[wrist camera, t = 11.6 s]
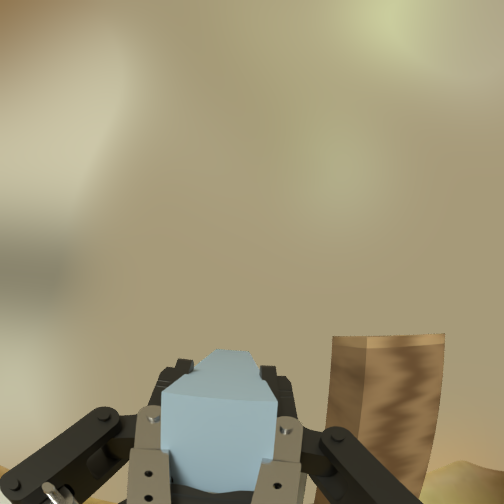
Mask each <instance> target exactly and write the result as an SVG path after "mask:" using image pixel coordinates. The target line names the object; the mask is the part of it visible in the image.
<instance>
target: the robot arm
mask: <svg viewBox="0 0 504 504" xmlns="http://www.w3.org/2000/svg"><path fill="white" fill-rule="evenodd" d="M193 370H194V362H193V360H187V359H178V360H177V363H176V366H175V368H172V367H166V369H164V370H163V371H162V372H161V373H160V375H159V378H158V381H157V383H156V386H155V388H154V390H153V393H152V396H151V398H150V401H149V403H148V406H146V407H143V408H142V409H140V411H139V412H138V414H136V415H125V416H119V414H118V412H117V411H116V410H115V409H113V408H110V407H99V408H96V409H94V410H93V411H91V412H90V413H89V414H87V415H86V416H84V417H83V418H82V419H80V420H79V421H78V422H76V423H75V424H74V425H72V426H71V427H70V428H68V429H67V430H66V431H64V432H63V433H62V434H60V435H59V436H57V437H56V438H55V439H53V440H52V441H51V442H49V443H48V444H46V445H45V446H43V447H42V448H41V449H39V450H38V451H37V452H35V453H34V454H32V455H31V456H29V457H28V458H27V459H25V460H24V461H22V462H21V463H20V464H18V465H17V466H15V467H14V468H12V469H11V470H9V471H8V472H7V473H5V474H4V475H3V476H2V477H1V479H0V490H1V492H2V493H3V495H4V496H5V497H6V498H7V499H8V500H9V501H10V502H11V503H12V504H82V503H83V502H85V501H86V500H87V499H88V498H89V497H90V496H91V495H92V494H93V493H95V492H96V491H97V490H98V489H99V488H100V487H101V486H102V485H103V484H104V483H105V482H107V481H108V480H109V479H110V478H111V477H112V476H113V475H114V474H115V473H116V472H117V471H118V470H119V469H120V468H121V467H122V466H123V465H125V464H126V463H127V462H128V461H129V472H128V488H127V499H126V500H124V501H122V502H120V503H118V504H297V497H298V489H299V481H300V472H302V473H306V474H309V476H310V477H311V479H312V480H313V482H314V483H315V484H316V486H317V487H318V488H319V490H320V491H321V492H322V493H323V495H324V496H325V497H326V498H327V500H328V501H329V502H330V504H423V503H422V502H421V501H420V500H419V499H418V498H417V497H416V496H414V495H413V494H412V493H411V492H410V491H409V490H408V489H407V488H406V487H405V486H404V485H403V484H402V483H401V482H400V481H399V480H398V479H397V478H396V477H395V476H394V475H393V474H392V473H391V472H389V471H388V470H387V469H386V468H385V467H384V466H383V465H382V464H381V463H380V462H379V461H378V460H377V459H376V458H375V457H374V456H373V455H372V454H371V453H370V452H369V451H368V450H367V449H366V447H365V446H364V445H363V444H362V443H361V442H360V441H359V440H358V439H357V438H356V437H355V436H354V435H353V434H352V433H351V432H350V431H349V430H347V429H345V428H343V427H339V426H333V427H329V428H327V429H325V430H324V431H323V432H318V431H313V430H309V429H307V428H305V427H304V426H302V424H301V423H300V421H299V420H298V418H297V413H296V408H295V402H294V397H293V392H292V385H291V382H290V381H289V380H288V379H287V378H286V376H277V373H276V367H275V366H260V372H259V375H260V377H261V379H262V380H265V381H266V382H267V384H268V386H269V387H270V389H271V391H272V393H273V394H274V396H275V398H276V399H277V401H278V407H277V419H276V431H275V442H274V453H273V459H268V458H262V461H261V466H260V470H259V474H258V478H257V482H256V486H255V490H254V491H241V490H239V491H232V492H225V493H216V494H212V493H208V492H205V491H201V490H198V489H195V488H192V487H189V486H186V485H180V484H173V483H172V482H173V476H172V469H171V461H170V453H169V449H161V395H162V391H163V390H165V389H166V388H167V387H169V386H170V385H171V384H173V383H174V382H175V381H177V380H178V379H179V378H180V377H182V376H183V375H184V374H189V373H191V372H192V371H193Z"/></svg>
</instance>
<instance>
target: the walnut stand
mask: <svg viewBox="0 0 504 504" xmlns="http://www.w3.org/2000/svg"><path fill="white" fill-rule="evenodd" d="M444 347H445V333H443V334H423V335H394V336H333V339H332V359H331V372H330V385H329V397H328V408H327V417H326V426H325V429H327V428H329V427H333V426H339V427H343V428H345V429H347V430H349V431H350V432H351V433H352V434H353V435H354V436H355V437H356V438H357V439H358V440H359V441H360V442H361V443H362V444H363V445H364V446H365V447H366V449H367V450H368V451H369V452H370V453H371V454H372V455H373V456H374V457H375V458H376V459H377V460H378V461H379V462H380V463H381V464H382V465H383V466H384V467H385V468H386V469H387V470H388V471H389V472H391V473H392V474H393V475H394V476H395V477H396V478H397V479H398V480H399V481H400V482H401V483H402V484H403V485H404V486H405V487H406V488H407V489H408V490H409V491H410V492H411V493H412V494H413V495H414V496H416V497H417V498H418V499H419V496H420V493H421V489H422V486H423V482H424V479H425V475H426V471H427V467H428V463H429V459H430V454H431V450H432V445H433V440H434V435H435V430H436V424H437V418H438V411H439V404H440V395H441V387H442V377H443V365H444ZM314 504H330V502H329V501H328V500H327V498H326V497H325V496H324V495H323V493H322V492H321V491H320V490H319V488H318V487H317V490H316V496H315V501H314Z"/></svg>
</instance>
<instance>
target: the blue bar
mask: <svg viewBox="0 0 504 504" xmlns="http://www.w3.org/2000/svg"><path fill="white" fill-rule="evenodd" d="M259 372H260V370H259V369H258V367H257V365H256V363H255V362H254V360H253V358H252V356H251V355H250V353H249V351H234V350H220V349H216V350H215V351H214V352H212V353H211V354H210V355H208V356H207V357H206V358H205V359H203V360H202V361H201V362H200V363H198V364H197V365H196V366H195V367H194V370H193V371H192V372H191V373H189V374H184V375H183V376H182V377H180V378H179V379H178V380H177V381H175V382H174V383H173V384H171V385H170V386H169V387H167V388H166V389H165V390H163V391H162V395H161V449H169V453H170V461H171V469H172V476H173V482H172V483H173V484H180V485H186V486H189V487H192V488H195V489H198V490H201V491H205V492H214V493H225V492H232V491H239V490H241V491H254V490H255V486H256V482H257V478H258V474H259V470H260V466H261V461H262V458H268V459H273V453H274V442H275V431H276V419H277V407H278V401H277V399H276V398H275V396H274V394H273V393H272V391H271V389H270V387H269V386H268V384H267V382H266V381H265V380H262V379H261V377H260V375H259Z"/></svg>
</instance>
